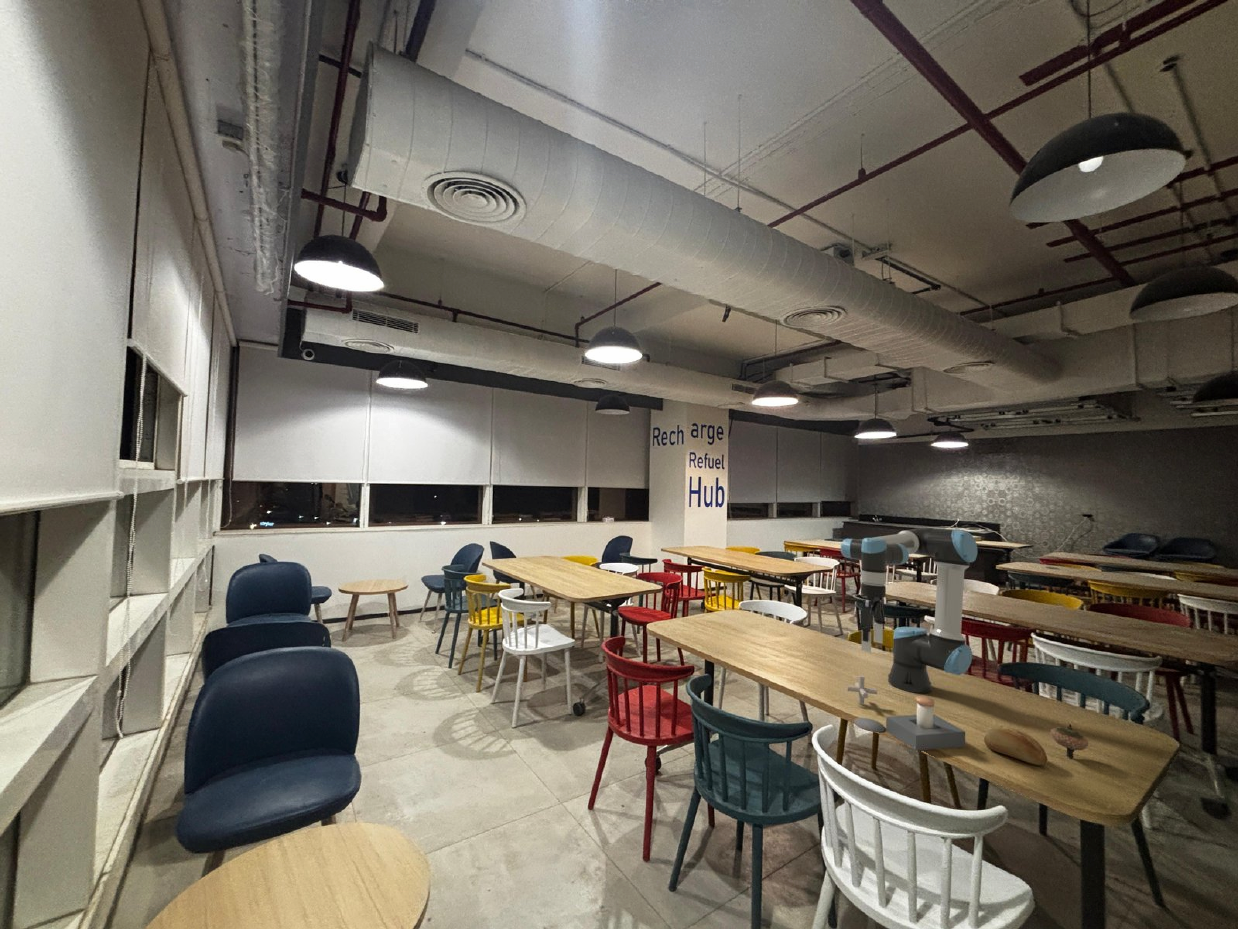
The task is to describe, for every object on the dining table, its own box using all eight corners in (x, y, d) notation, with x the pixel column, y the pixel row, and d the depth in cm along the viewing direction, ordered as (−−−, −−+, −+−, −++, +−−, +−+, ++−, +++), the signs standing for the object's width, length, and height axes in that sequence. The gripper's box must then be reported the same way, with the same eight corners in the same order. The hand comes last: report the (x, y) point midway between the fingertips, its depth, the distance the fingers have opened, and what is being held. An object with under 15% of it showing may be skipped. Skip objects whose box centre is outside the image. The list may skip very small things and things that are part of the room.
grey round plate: (871, 718, 166) (871, 717, 166) (891, 731, 157) (891, 730, 157) (848, 719, 164) (848, 718, 164) (867, 733, 156) (867, 731, 156)
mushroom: (924, 734, 157) (925, 695, 157) (937, 742, 152) (938, 702, 152) (911, 735, 156) (912, 696, 156) (924, 743, 151) (924, 703, 151)
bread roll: (1043, 774, 136) (1043, 745, 137) (979, 751, 148) (979, 724, 148) (1050, 763, 142) (1050, 735, 143) (988, 741, 154) (988, 715, 154)
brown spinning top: (1047, 755, 147) (1047, 721, 147) (1055, 747, 151) (1055, 715, 152) (1084, 768, 140) (1084, 733, 140) (1091, 760, 145) (1091, 726, 145)
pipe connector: (880, 712, 172) (880, 683, 172) (850, 708, 174) (850, 679, 174) (871, 700, 181) (872, 673, 182) (843, 696, 183) (843, 669, 184)
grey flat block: (932, 727, 161) (932, 713, 162) (965, 746, 150) (965, 731, 150) (886, 730, 158) (886, 716, 158) (915, 750, 146) (916, 735, 146)
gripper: (872, 578, 177) (871, 636, 176) (849, 586, 159) (848, 651, 158) (895, 581, 172) (894, 642, 171) (874, 590, 154) (873, 657, 153)
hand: (872, 646), depth 165 cm, fingers open, 13 cm apart
